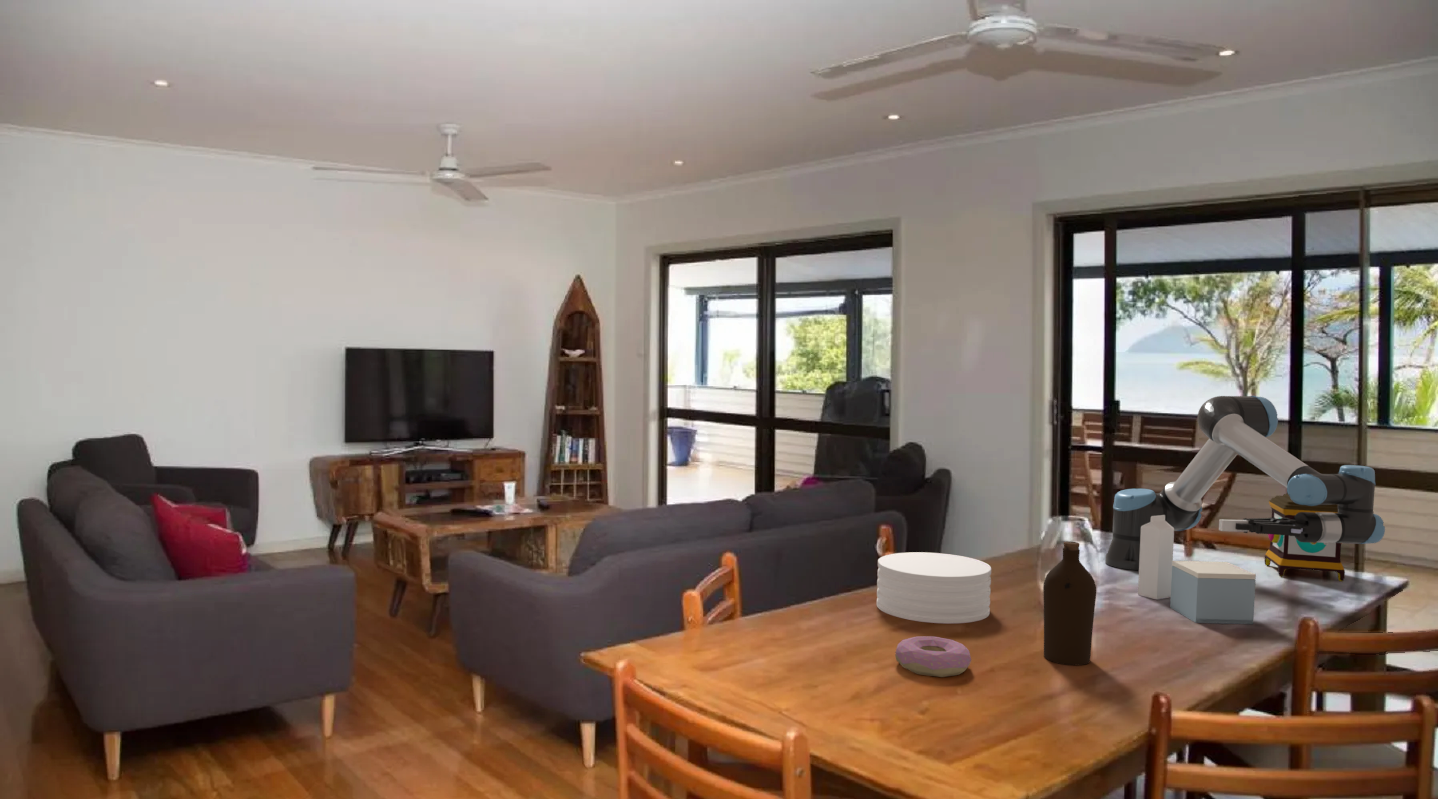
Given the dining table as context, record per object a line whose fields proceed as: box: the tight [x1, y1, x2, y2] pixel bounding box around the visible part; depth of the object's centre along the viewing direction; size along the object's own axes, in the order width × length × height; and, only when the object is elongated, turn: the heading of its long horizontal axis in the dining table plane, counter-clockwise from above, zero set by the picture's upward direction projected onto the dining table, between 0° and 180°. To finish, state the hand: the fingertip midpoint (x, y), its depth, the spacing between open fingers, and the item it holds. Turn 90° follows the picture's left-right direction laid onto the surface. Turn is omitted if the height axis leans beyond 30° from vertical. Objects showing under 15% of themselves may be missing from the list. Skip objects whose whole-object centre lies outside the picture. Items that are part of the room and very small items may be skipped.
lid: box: [1172, 560, 1257, 580], centre depth 248 cm, size 14×14×1 cm
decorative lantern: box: [1264, 491, 1346, 582], centre depth 299 cm, size 20×20×30 cm
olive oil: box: [1042, 540, 1097, 666], centre depth 210 cm, size 11×11×25 cm
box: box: [1169, 566, 1257, 625], centre depth 248 cm, size 14×14×11 cm
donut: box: [894, 635, 972, 678], centre depth 203 cm, size 16×15×5 cm
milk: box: [1137, 515, 1175, 600], centre depth 267 cm, size 6×6×22 cm
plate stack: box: [876, 551, 992, 624], centre depth 250 cm, size 28×28×12 cm
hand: (1220, 525), depth 247 cm, fingers closed
